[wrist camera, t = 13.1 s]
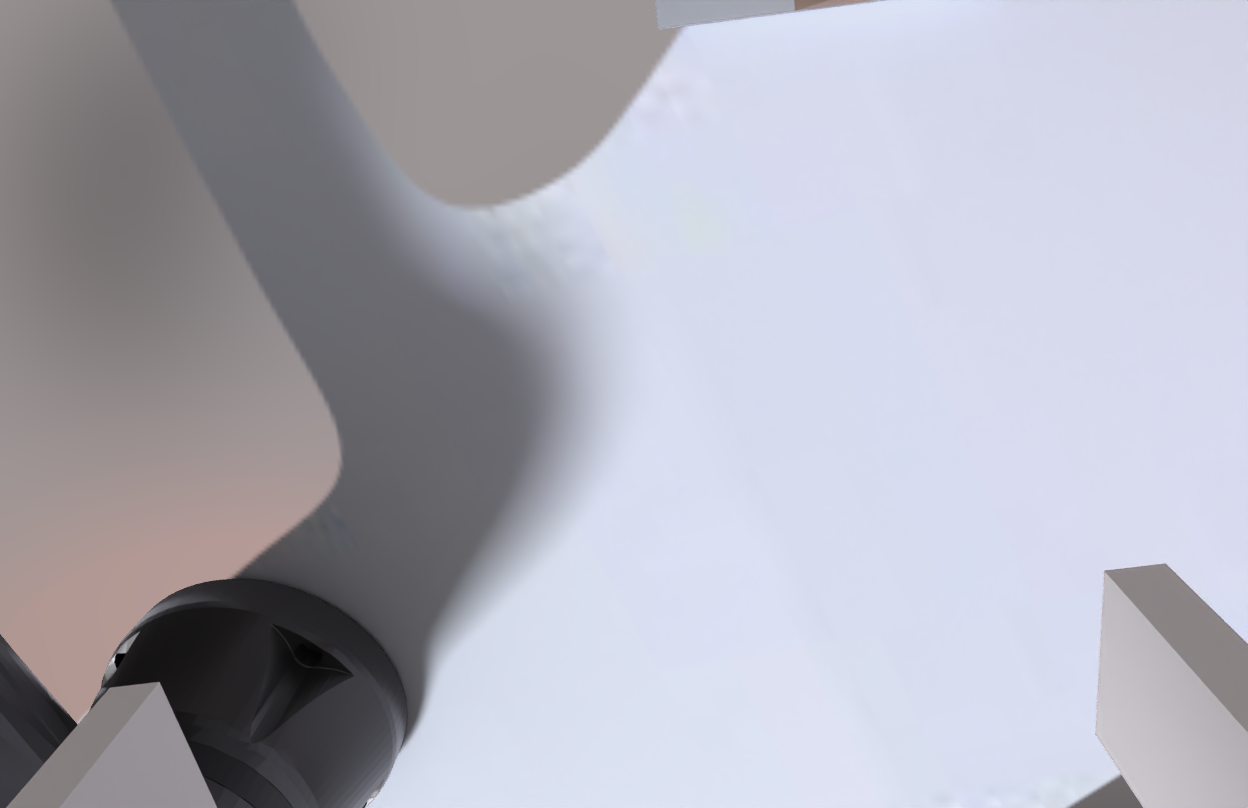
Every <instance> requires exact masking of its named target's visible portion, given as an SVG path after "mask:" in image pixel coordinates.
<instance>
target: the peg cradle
mask: <svg viewBox="0 0 1248 808" xmlns="http://www.w3.org/2000/svg"><path fill="white" fill-rule="evenodd" d="M877 1H884V0H655V5H656V15H657V26H658V29H667V28H675V27H683V26H691V25H698V24H706V23H714V22H722V21H729V20H737V19H745V18H753V17H760V16H768V15H776V14H784V13H791V12H799V11H807V10H815V9H822V8H830V7H838V6H846V5H853V4H861V3H869V2H877Z"/></svg>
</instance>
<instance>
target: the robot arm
mask: <svg viewBox="0 0 1248 808" xmlns="http://www.w3.org/2000/svg"><path fill="white" fill-rule="evenodd" d="M406 725H407V706H406V699H405V695H404V691H403V688H402V685H401V682H400V679H399V677H398V675H397V673H396V671H395V669H394V667H393V665H392V663H391V662H390V660H389V658H388V657H387V655H386V654H385V653H384V651H383V650H382V649H381V647H380V646H379V645H378V644H377V642H376V641H375V640H374V639H373V638H372V637H371V636H370V635H369V634H368V633H367V632H366V631H365V630H364V629H363V628H362V627H361V626H359V625H358V624H357V623H356V622H355V621H353V620H352V619H351V618H349V617H348V616H347V615H345V614H344V613H342V612H341V611H339V610H338V609H336V608H335V607H333V606H331V605H329V604H328V603H326V602H324V601H322V600H320V599H318V598H316V597H314V596H311V595H309V594H307V593H304V592H302V591H299V590H296V589H293V588H290V587H286V586H283V585H279V584H274V583H270V582H264V581H257V580H246V579H226V580H216V581H209V582H204V583H200V584H196V585H193V586H190V587H187V588H184V589H182V590H179V591H177V592H175V593H174V594H171V595H169V596H168V597H166V598H165V599H163V600H162V601H160V602H159V603H158V604H157V605H155V606H154V607H153V608H152V609H151V610H150V611H149V612H148V613H147V614H146V615H145V616H144V617H143V618H142V620H141V621H140V622H139V623H138V624H137V625H136V626H135V627H134V628H133V629H132V630H131V631H130V632H129V633H128V634H127V635H126V637H125V638H124V639H123V640H122V641H121V643H120V644H119V646H118V647H117V649H116V650H115V652H114V654H113V655H112V657H111V659H110V662H109V664H108V666H107V669H106V671H105V674H104V677H103V680H102V685H101V689H100V691H99V693H98V694H97V696H96V698H95V700H94V702H93V704H92V706H91V709H90V711H89V712H88V714H87V715H86V716H85V717H84V718H83V719H82V721H81V722H80V723H79V724H78V725H77V723H76V722H75V721H74V720H73V719H72V718H71V717H70V715H69V714H68V713H67V712H66V711H65V710H64V708H63V707H62V706H61V705H60V704H59V703H58V702H57V700H56V699H55V698H54V697H53V696H52V695H51V693H49V691H48V690H47V689H46V688H45V686H44V685H43V684H42V683H41V682H40V681H39V680H38V678H37V677H36V676H35V675H34V674H33V673H32V671H31V670H30V669H29V668H28V667H27V666H26V664H25V663H24V662H23V661H22V660H21V659H20V657H19V656H18V655H17V654H16V653H15V652H14V650H13V649H12V648H11V647H10V645H9V644H8V643H7V642H6V641H5V639H4V638H3V637H2V636H1V635H0V808H365V807H366V806H368V805H369V804H370V802H371V801H372V800H373V799H374V798H375V797H376V796H377V794H378V793H379V792H380V790H381V789H382V787H383V785H384V784H385V782H386V781H387V779H388V777H389V775H390V772H391V770H392V768H393V765H394V763H395V760H396V758H397V755H398V753H399V750H400V748H401V745H402V742H403V740H404V736H405V732H406ZM1095 735H1096V736H1097V738H1098V739H1099V741H1100V742H1101V744H1102V745H1103V747H1104V748H1105V750H1106V751H1107V753H1108V754H1109V756H1110V757H1111V759H1112V760H1113V762H1114V764H1115V765H1116V767H1117V768H1118V770H1119V771H1120V773H1121V774H1122V776H1123V777H1124V779H1125V780H1126V782H1127V783H1128V785H1129V786H1130V788H1131V789H1132V791H1133V792H1134V794H1135V795H1136V797H1137V798H1138V800H1139V801H1140V803H1141V804H1142V806H1143V808H1248V644H1247V643H1246V642H1245V641H1244V640H1243V639H1242V638H1241V637H1240V636H1239V635H1238V634H1237V633H1236V632H1235V631H1234V630H1233V629H1232V628H1231V627H1230V626H1229V625H1228V624H1227V623H1226V622H1225V621H1224V620H1223V619H1222V618H1221V617H1220V616H1219V615H1218V614H1217V613H1216V612H1215V611H1214V610H1213V609H1212V608H1210V607H1209V606H1208V605H1207V604H1206V603H1205V602H1204V601H1203V600H1202V599H1201V598H1200V597H1199V596H1198V595H1197V594H1196V593H1195V592H1194V591H1193V590H1192V589H1191V588H1190V587H1189V586H1188V585H1187V584H1186V583H1185V582H1184V581H1183V580H1182V579H1181V578H1180V577H1179V576H1178V575H1177V574H1176V573H1175V572H1174V571H1173V570H1172V569H1171V568H1170V567H1169V566H1168V565H1167V564H1158V565H1149V566H1141V567H1132V568H1124V569H1115V570H1107V571H1104V584H1103V602H1102V621H1101V639H1100V657H1099V676H1098V694H1097V713H1096V731H1095Z"/></svg>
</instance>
